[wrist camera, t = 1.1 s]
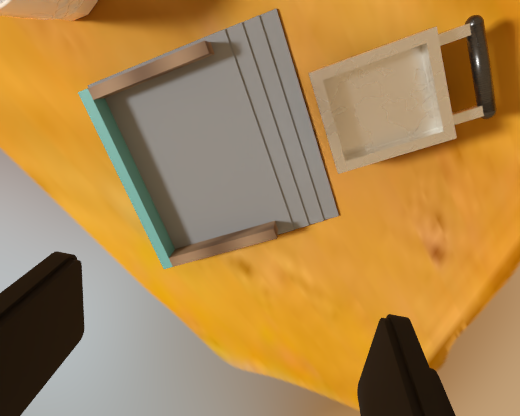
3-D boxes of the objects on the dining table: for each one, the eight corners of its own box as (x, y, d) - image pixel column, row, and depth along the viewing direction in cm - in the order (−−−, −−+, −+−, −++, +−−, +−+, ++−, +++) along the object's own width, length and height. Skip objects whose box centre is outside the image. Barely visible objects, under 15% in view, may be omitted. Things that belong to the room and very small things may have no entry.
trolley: (464, 14, 29) (494, 5, 25) (479, 113, 32) (510, 121, 27) (307, 72, 32) (308, 73, 27) (333, 159, 34) (338, 173, 30)
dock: (276, 8, 30) (274, 3, 28) (338, 215, 36) (341, 225, 34) (91, 85, 34) (75, 86, 32) (174, 260, 40) (166, 273, 38)
